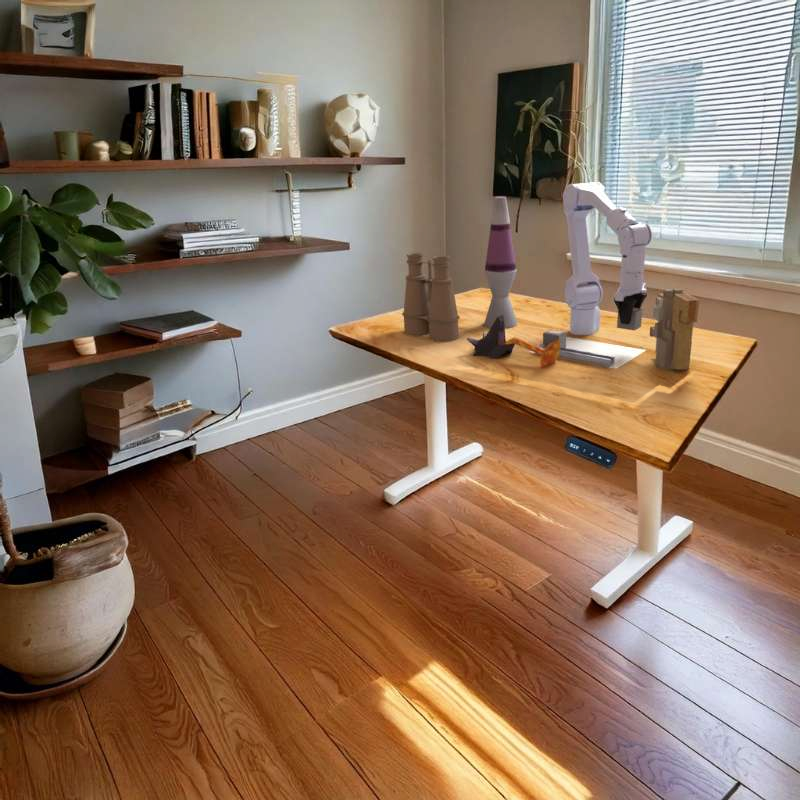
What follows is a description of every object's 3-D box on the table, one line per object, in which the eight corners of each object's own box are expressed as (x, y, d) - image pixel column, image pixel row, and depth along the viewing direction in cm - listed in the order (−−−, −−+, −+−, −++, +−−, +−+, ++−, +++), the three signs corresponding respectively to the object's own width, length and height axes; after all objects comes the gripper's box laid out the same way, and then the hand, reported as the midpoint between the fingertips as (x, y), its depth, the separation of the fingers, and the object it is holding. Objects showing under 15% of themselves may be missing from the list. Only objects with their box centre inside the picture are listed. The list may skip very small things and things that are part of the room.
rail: (540, 350, 192) (540, 343, 192) (614, 364, 178) (614, 356, 178) (534, 353, 190) (535, 346, 190) (609, 367, 176) (609, 359, 176)
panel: (561, 339, 204) (561, 335, 204) (646, 354, 188) (646, 350, 187) (528, 356, 192) (528, 351, 192) (616, 373, 176) (616, 368, 175)
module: (623, 324, 188) (624, 305, 186) (641, 326, 185) (642, 308, 183) (616, 327, 186) (618, 309, 184) (634, 330, 182) (636, 311, 180)
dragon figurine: (543, 345, 173) (467, 310, 187) (533, 386, 180) (461, 349, 194) (565, 335, 180) (491, 302, 194) (555, 375, 186) (484, 340, 201)
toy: (669, 358, 184) (676, 284, 177) (697, 379, 168) (706, 299, 161) (645, 359, 184) (651, 285, 176) (671, 381, 168) (679, 301, 161)
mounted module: (550, 346, 195) (550, 328, 193) (565, 349, 192) (566, 331, 190) (542, 350, 192) (543, 332, 190) (558, 353, 189) (559, 335, 187)
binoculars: (466, 336, 213) (464, 255, 204) (445, 344, 207) (442, 261, 198) (417, 326, 227) (414, 250, 218) (396, 333, 221) (392, 255, 211)
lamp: (478, 322, 227) (476, 197, 212) (508, 318, 230) (508, 194, 215) (492, 330, 217) (491, 199, 203) (523, 326, 220) (524, 196, 205)
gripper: (635, 278, 172) (631, 330, 177) (658, 267, 182) (654, 317, 187) (608, 275, 177) (605, 326, 182) (633, 265, 187) (629, 314, 192)
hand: (628, 321), depth 185 cm, fingers closed on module, 4 cm apart
